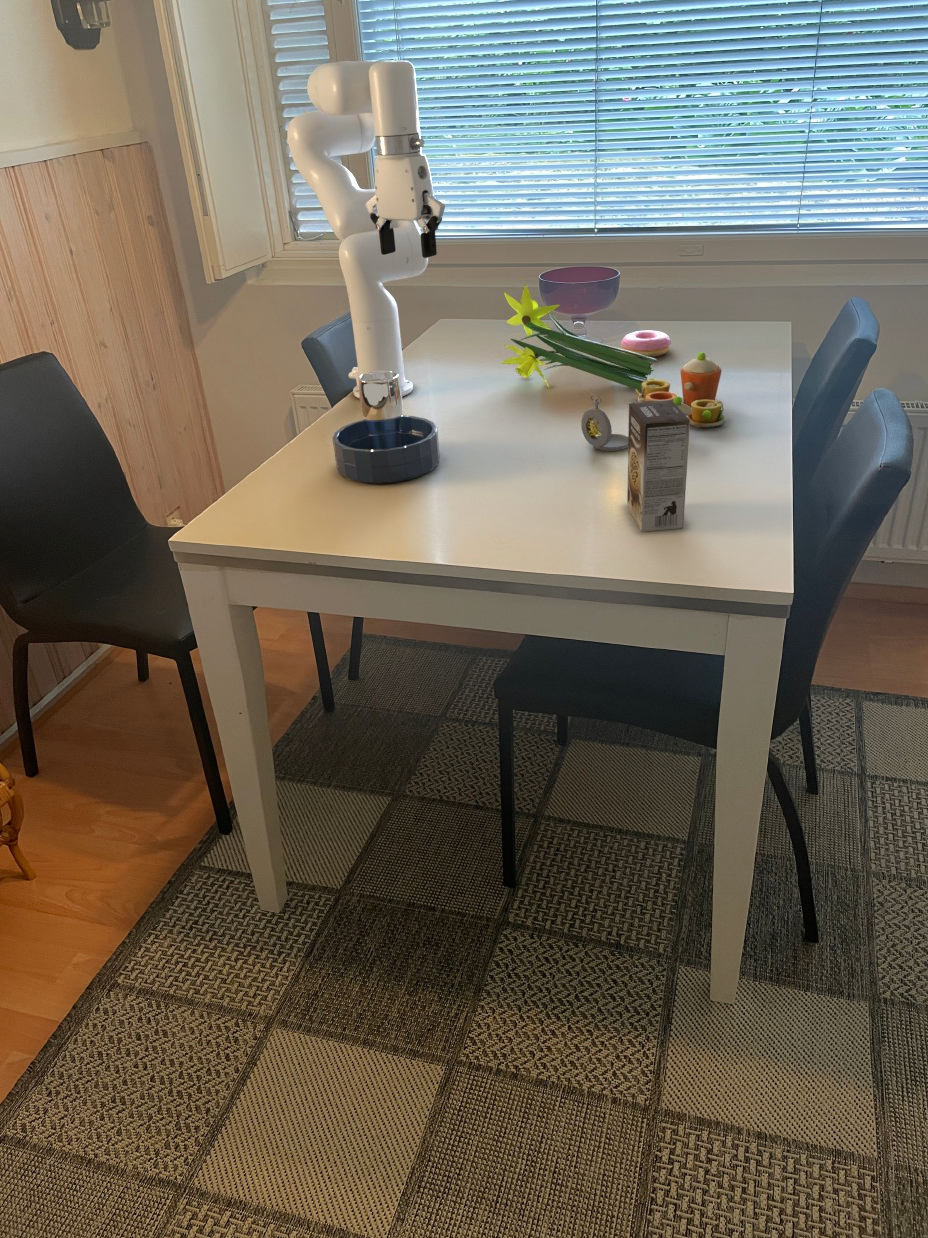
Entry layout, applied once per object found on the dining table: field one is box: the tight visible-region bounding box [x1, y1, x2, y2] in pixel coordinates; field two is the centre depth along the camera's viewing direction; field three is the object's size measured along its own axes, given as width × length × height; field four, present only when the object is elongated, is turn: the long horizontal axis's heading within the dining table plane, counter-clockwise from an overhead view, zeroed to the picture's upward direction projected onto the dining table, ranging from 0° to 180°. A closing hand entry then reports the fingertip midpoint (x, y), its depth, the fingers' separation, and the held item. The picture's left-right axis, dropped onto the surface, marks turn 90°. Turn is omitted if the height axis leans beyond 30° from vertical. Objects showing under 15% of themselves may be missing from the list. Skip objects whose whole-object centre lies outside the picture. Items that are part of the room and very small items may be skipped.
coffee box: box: [626, 400, 691, 533], centre depth 133 cm, size 9×6×16 cm
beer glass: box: [359, 370, 404, 450], centre depth 158 cm, size 7×7×15 cm
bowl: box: [331, 415, 441, 485], centre depth 160 cm, size 18×18×6 cm
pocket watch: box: [580, 394, 628, 452], centre depth 160 cm, size 8×8×10 cm
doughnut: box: [620, 329, 672, 358], centre depth 210 cm, size 11×11×4 cm
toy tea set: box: [635, 352, 726, 428], centre depth 171 cm, size 26×16×10 cm, turn 176°
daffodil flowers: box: [500, 284, 657, 392], centre depth 192 cm, size 17×15×35 cm
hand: (408, 254), depth 166 cm, fingers open, 9 cm apart
